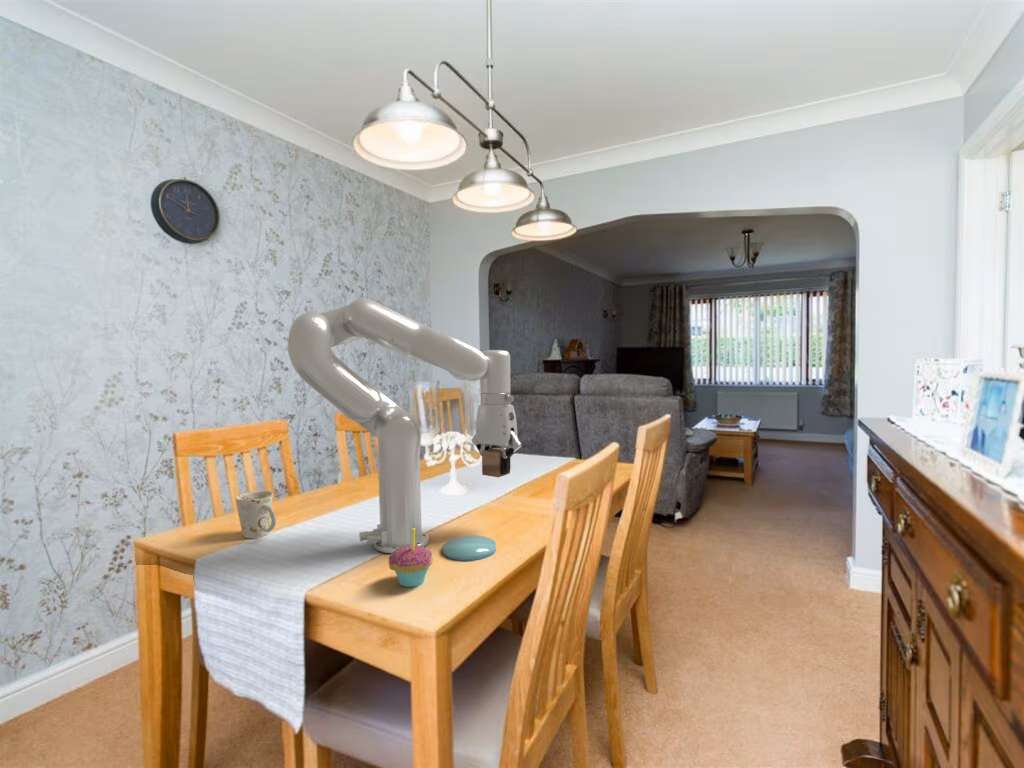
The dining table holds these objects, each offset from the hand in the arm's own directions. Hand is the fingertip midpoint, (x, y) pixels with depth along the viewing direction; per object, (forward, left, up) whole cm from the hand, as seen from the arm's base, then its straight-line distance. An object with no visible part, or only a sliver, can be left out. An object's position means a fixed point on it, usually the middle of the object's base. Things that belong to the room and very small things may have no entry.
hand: (496, 471), depth 128 cm
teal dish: (-11, -9, -15) cm, 21 cm away
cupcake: (-27, -19, -15) cm, 36 cm away
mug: (-54, +24, -15) cm, 61 cm away
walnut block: (0, 0, -1) cm, 1 cm away
